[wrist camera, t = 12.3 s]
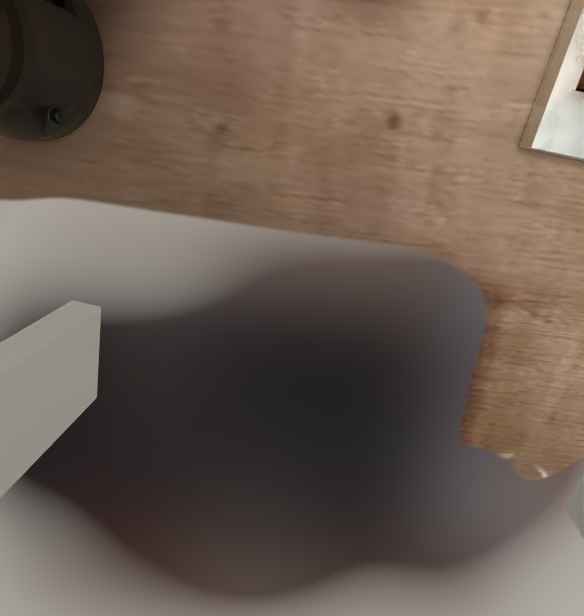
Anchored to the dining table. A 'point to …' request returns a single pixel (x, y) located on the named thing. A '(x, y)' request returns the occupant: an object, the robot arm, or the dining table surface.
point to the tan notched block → (581, 81)
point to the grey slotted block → (561, 95)
